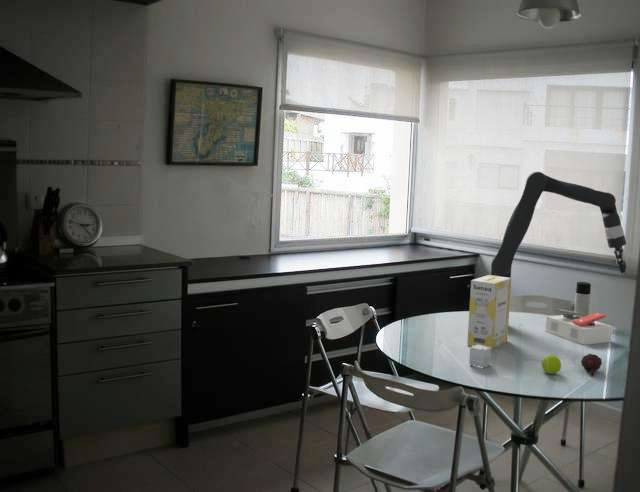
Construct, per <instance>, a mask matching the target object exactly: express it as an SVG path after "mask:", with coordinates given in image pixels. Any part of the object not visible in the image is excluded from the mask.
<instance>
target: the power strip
mask: <svg viewBox="0 0 640 492" xmlns="http://www.w3.org/2000/svg"><path fill="white" fill-rule="evenodd" d="M579 318H582V317H580V316H575V315H574V316H572V315H569V314H564V313H562V314H560V315H559V314H558V315H549V316H548V315H547V316H546V321H545V322H546V323H545V332H547V333H550V334H552V335H555V336H558V337H559V338H560V337H561V338H564V339H566V340H569V341H572V342H575V343H577V344H581V345H583V346H585V345H593V344H604V343H605V344H606V343H611V342H612V338H613V329H614V328H613V327H614V326H613V325H609V324H606V323H604V322H603V323H602V322H600V321H598V320H596V321H594V322H591V323H588V324H585V325H582V326H580V325H577V324H574V323H573V320H576V319H579Z"/></svg>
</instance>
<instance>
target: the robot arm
mask: <svg viewBox="0 0 640 492" xmlns="http://www.w3.org/2000/svg"><path fill="white" fill-rule="evenodd" d="M543 192H546V193H551V194H555V195H559V196H562V197H565V198H568V199H570V200H574V201H577V202H581V203H584V204H585V203H586V204H588V205H589V204H590V205H593V206H595V207H599V209H600V212H601V216H602V222H603V226H604V231H605V232H604V233H605V237H606V241H607V245H608V248H609V249H614V251H613V254H614V257H615V260H616V264H617V265H618V268H619V272H620V273H621V274H624V273H626V270H627V265H626V261H625V260H626V256H625V249H624V248H623V246H625V245H626V244H627V242H626V241H627V240H626V236H625V233H624V229H623V226H622V223H621V218H620V216H619V215H620V214H619V213H618V210H617V206H616V202H617V201H616V200H617V199H616V197H615V195H614V194H612V193H611V192H605V191H601V190H597V189H596V190H595V189H593V188H591V187H587V186H584V185H580V184H577V183H572V182H571V183H570V182H568V181H567V182H566V181H563V180H558V179H555V178H552V177H550V176H548V175H546V174H545V173H543V172H541V171H533V172H531V173H530V174H529V175H528V176H527V178H526V181H525V185H524V189H523V192H522V195H521V197H520V200H519V201H518V203H517V205H516V206H515V208H514V210H513V212H512V213H511V215H510V217H509V221H508V223H507V225H506V229H505V231H504V235H503V239H502V242H501V246H500V248H499V249H498V251H497V253H496V255H495V256H494V257H493V259H492V261H491V263H490V268H491V270H490V275H493V276H501V277H508V278H511V279H512V277H511V276H512V265H513V261H514V259H515V255H516V253H517V250H518V249H519V247H520V245H521V243H522V242H523V240H524V238H525V236H526V234H527V232H528V230H529V227H530V224H531V222H532V220H533V216H534V213H535V209H536V207H537V204H538V201H539V199H540V197H541V196H542V194H543Z"/></svg>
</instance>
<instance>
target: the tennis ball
mask: <svg viewBox="0 0 640 492" xmlns="http://www.w3.org/2000/svg"><path fill="white" fill-rule="evenodd" d="M541 368H542V370H543V371H544V372H545V373H546V374H549V375H555V374H557V373H559V372H560V371H561V369H562V361H561V359H560V358H559V357H558V356H556V355H554V354H551V355H550V354H549V355H546V356H544V358H543V359H542V361H541Z"/></svg>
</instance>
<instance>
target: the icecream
mask: <svg viewBox="0 0 640 492" xmlns="http://www.w3.org/2000/svg"><path fill="white" fill-rule="evenodd" d="M580 363H581V366H582V367H583V369H584V370H585V371H588V372H589V374H590V376H591V377H594V376H595V375H596V372H597V371H598V370H599V369H601V365H602V363H603V362H602V358H600V357H599V356H598V355H597V354H592V353H589V354H587V355H584V356H583V358H582V359H581V360H580Z"/></svg>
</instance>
